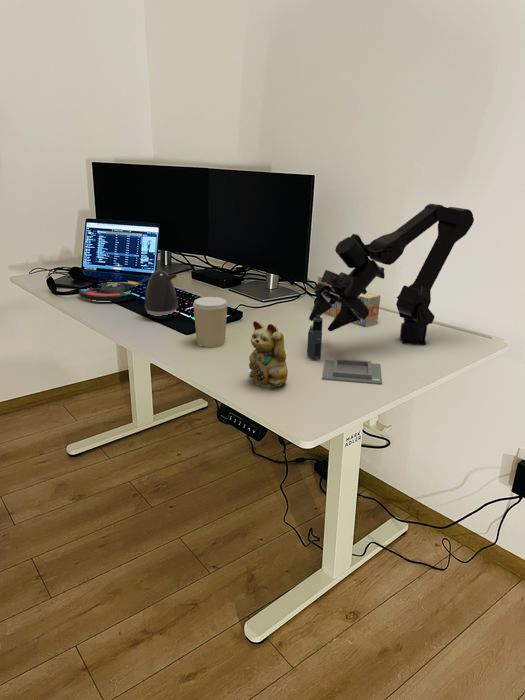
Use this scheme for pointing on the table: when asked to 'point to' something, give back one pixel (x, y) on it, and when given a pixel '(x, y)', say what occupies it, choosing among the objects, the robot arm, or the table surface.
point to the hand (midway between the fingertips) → (319, 325)
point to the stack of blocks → (368, 299)
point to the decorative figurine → (268, 356)
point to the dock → (352, 371)
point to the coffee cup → (210, 321)
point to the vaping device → (315, 338)
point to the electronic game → (108, 291)
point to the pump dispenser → (160, 294)
